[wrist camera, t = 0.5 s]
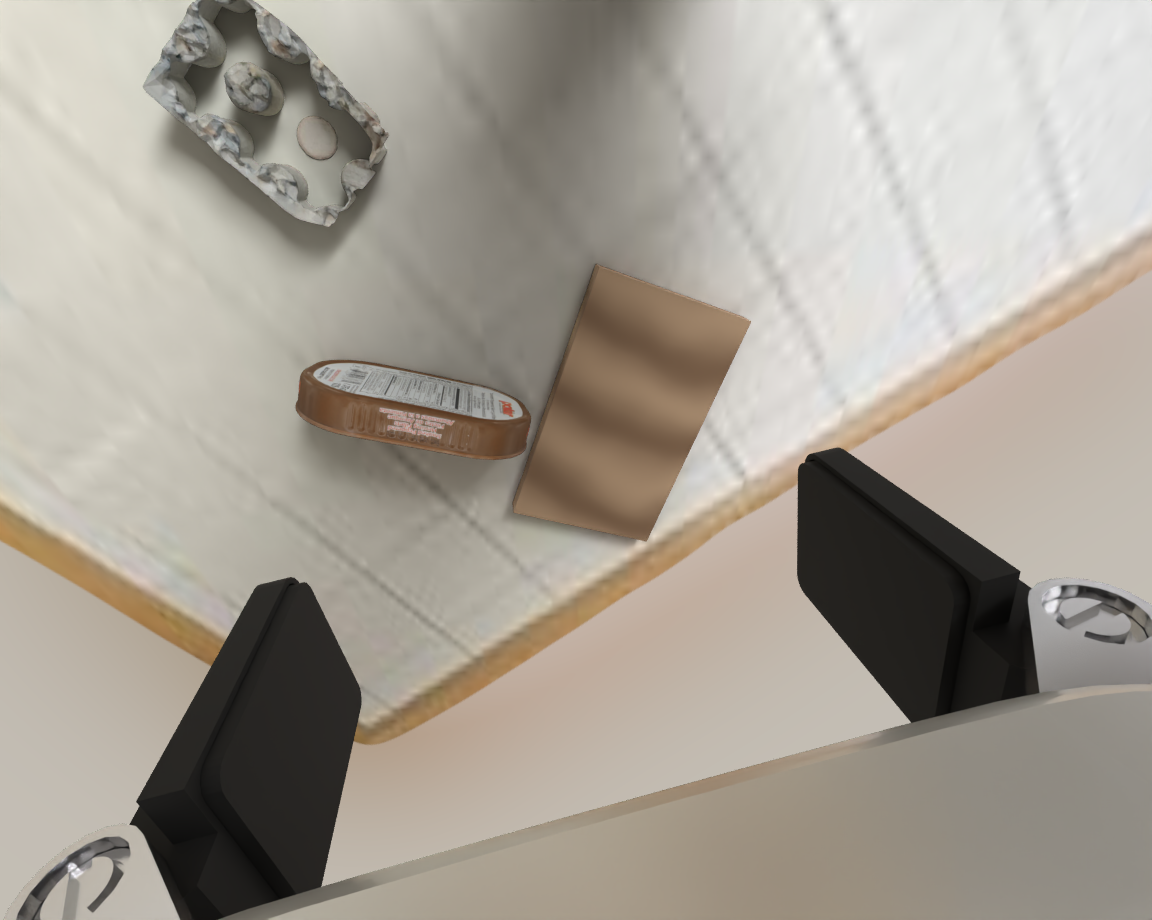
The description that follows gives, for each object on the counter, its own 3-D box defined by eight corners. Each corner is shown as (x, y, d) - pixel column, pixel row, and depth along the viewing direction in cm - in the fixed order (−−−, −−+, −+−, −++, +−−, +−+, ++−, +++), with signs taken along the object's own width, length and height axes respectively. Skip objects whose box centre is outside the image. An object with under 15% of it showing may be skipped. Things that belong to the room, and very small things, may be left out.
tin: (314, 384, 40) (276, 434, 33) (317, 342, 39) (279, 383, 31) (521, 424, 44) (529, 477, 36) (530, 387, 42) (540, 433, 35)
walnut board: (595, 263, 39) (599, 267, 38) (742, 316, 42) (751, 321, 41) (512, 503, 47) (513, 512, 45) (642, 531, 50) (646, 541, 49)
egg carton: (406, 140, 34) (397, 136, 31) (332, 234, 36) (316, 242, 32) (240, -26, 30) (207, -52, 26) (164, 92, 31) (124, 82, 28)
